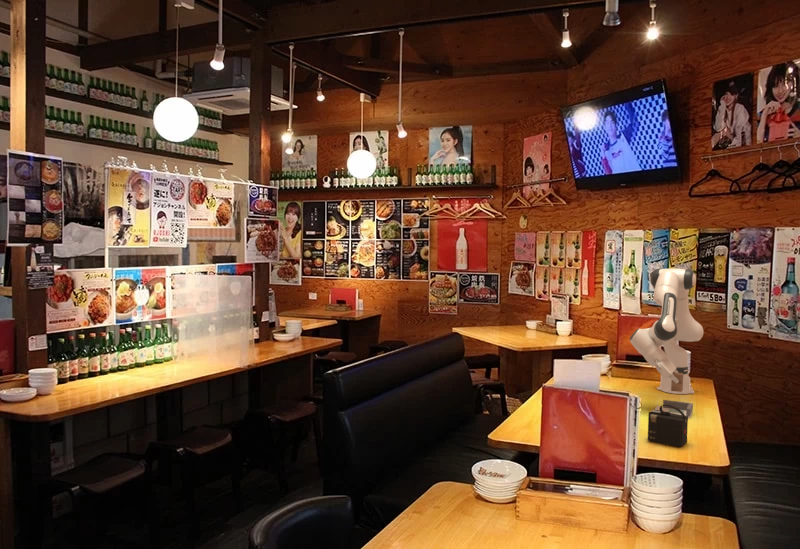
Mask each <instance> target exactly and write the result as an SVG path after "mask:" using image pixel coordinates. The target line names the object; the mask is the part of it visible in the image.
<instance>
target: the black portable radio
mask: <svg viewBox="0 0 800 549" xmlns="http://www.w3.org/2000/svg"><path fill="white" fill-rule="evenodd" d="M659 406H660V410H655V408H654V409H653V410H651V411H649V412H648V418H647V419H648V421H647V441H648V442H652V443H658V444H662V445H668V446H673V447H678V448H682V447H683V446H684V445H686V444H687V443H688V424H689V423H688V421H689V419H688V416H685V415H684V413H683V412H682V411H681V410H679V409H678V408H676V407H674V406H672V405H667V404H664V405H663V404H661V405H659ZM663 406H668V407H671V408H674V409H675V410H677V411H678V412H679V413H680V414H681V415H679V414H673V413H670V412H665V411H663V410H662V407H663Z"/></svg>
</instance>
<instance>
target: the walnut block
mask: <svg viewBox="0 0 800 549" xmlns="http://www.w3.org/2000/svg"><path fill="white" fill-rule="evenodd" d="M672 374H673V375H674V376H675V377H676V378H677V379H678V380H679V382H678V383H675V382H674V381H673V380H672V381H671V391H678V392H682V390H683V373H675V372H673V373H672Z"/></svg>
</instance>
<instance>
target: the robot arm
mask: <svg viewBox="0 0 800 549" xmlns="http://www.w3.org/2000/svg"><path fill="white" fill-rule="evenodd" d="M696 282H697V276H696V274H695V272H694V271H693V270H692V269H688V268H686V269H684V268H678V267H677V268H655V269H653V270H652V271H651V274H650V284H651V286H652V287H653V288H654V290H653V301H654V302H655V303H656V304H657V305H658V306H661V313H660V317H659V319H658V320H656V321H655V322H654V323H653V325H652V326H651V327H648V328H637V329H636V330H635V331H634V332H633V333H632V334H631V336H630V337H629V341H630V342H629V343H630V344H631V345H632V346H633V347H634V348H635V349H634V350H636V351H637V353H639V354H640V355H642V357H643V358H644V360H646V362H647V363H648V364H649V365H650V366H651V367H652V368H655V369H656V370H657V372H658V373H659V374H660V383H659V384H660V385H659V386H657V387H656V390H659V391H662V392H664V393H667V394H668V393H669V394H673V395H674V394H675V395H688V394H691V395H692V394H693V395H694V394H695V391H694V388H693V387H692V384H691V377H690V375H689V374H688V373H689V367H688V360H689V359H688V357H689V356H688V352H687V351H686V349H685V348H683V347H681V346H679V345H678V343H677V341H679V342H691V343H692V342H699V341H700V340H701V339H702V338H703V336H704V328H703V325H702V324H700V322H698V321H697V320H696V319H694V317H693V315H692V314H691V312H690V309H689V308H690V307H689V294H688V293H689V292H688V290H691V289H693V288H694V287H695V285H696ZM661 346H663V349H664V350H663V349H662V348H661ZM673 372H675V373H683V390H682V392H678V391H671V381H672V380H673V381H674V382H675V383H678V382H679V380H678V379H677V378H676V377H675V376H674V375H673V374H672V373H673Z"/></svg>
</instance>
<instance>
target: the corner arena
mask: <svg viewBox="0 0 800 549" xmlns="http://www.w3.org/2000/svg"><path fill="white" fill-rule="evenodd" d="M664 404H667V405H672V406H674V407H676V408H678V409H679V410H681V411H682V412H683V413H684V415H685V416H688V420H689V419H691V417H692V414H693V410H694V408H693V407H694V403H692V402H685V401H676V400H669V399H663V401H662V405H664ZM660 406H661V405H657V406H655V408H654V409H655V410H660ZM662 410H663V411H665V412H670V413H673V414H679V415H681V414H680V413H679V412H678V411H677V410H675V409H674V408H671V407H668V406H662Z"/></svg>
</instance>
